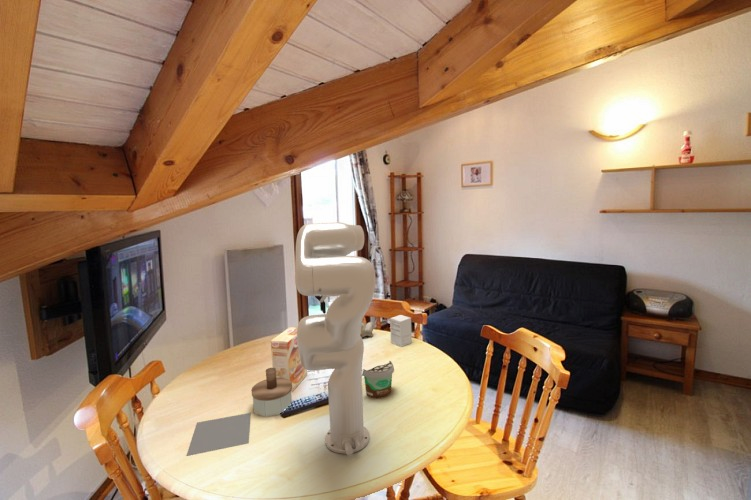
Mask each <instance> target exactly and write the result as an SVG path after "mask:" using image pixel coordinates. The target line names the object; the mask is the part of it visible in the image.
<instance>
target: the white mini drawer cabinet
mask: <svg viewBox="0 0 751 500" xmlns="http://www.w3.org/2000/svg"><path fill="white" fill-rule="evenodd" d="M389 321H390V322H389V324H390V325H389V326H390V327H389V328H390V343H391V344H393V345H395V346H398V347H400V348H402V347H405V346H408V345H409V344H412V343H413V342H412V339H413V337H412V335H413V333H412V317H409V316H405V315H403V314H399V315H396V316H394V317H390V318H389Z"/></svg>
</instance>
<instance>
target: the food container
mask: <svg viewBox="0 0 751 500" xmlns="http://www.w3.org/2000/svg"><path fill="white" fill-rule="evenodd" d="M394 372H395V368H394V364H393V362H392V361H391V360H389V362H387V363H385V364H381V365H377V366H373V367H372V368H370V369H367V370H366V369H364V368H362V377H363V378H364V385H365V392H366V393H365V394H366V396H367V397H369V398H371V399H372V398H373V399H383V398H386V397H389V396H390V395H391V393H392V382H393V380H392V379H393V374H394Z"/></svg>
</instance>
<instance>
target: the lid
mask: <svg viewBox="0 0 751 500" xmlns="http://www.w3.org/2000/svg"><path fill="white" fill-rule="evenodd" d="M265 376H266V377H265V378H266V379H263V380H261V381H258V382H257V383H256V384H254V385H253V386H252V388H251V391H250V392H251V397H252V399H253V398H255V399H257V400H261V401H269V400H275V399H279V398H281V397H284V396H286V395H287V394H288V393H290V391H291V390H292V382H291V381H290V380H288V379H286V378H276V368H273V367H268V368H267V369H266V370H265Z"/></svg>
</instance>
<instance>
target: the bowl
mask: <svg viewBox="0 0 751 500" xmlns="http://www.w3.org/2000/svg"><path fill="white" fill-rule="evenodd" d="M252 402H253V404H252V405H253V413H254V414H255V415H259V416H262V417H265V418H266V417H272V416H277V415H281V414H280V413H281V412H282V410H284V409H285V408H286V407H288V406H289V405H290V404H291V403H292V392H291V391H290V393H288V394H287V395H286V396H284V397H281V398H279V399H275V400H269V401H261V400H257V399H255V398H253V397H252ZM292 404H293V403H292Z"/></svg>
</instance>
